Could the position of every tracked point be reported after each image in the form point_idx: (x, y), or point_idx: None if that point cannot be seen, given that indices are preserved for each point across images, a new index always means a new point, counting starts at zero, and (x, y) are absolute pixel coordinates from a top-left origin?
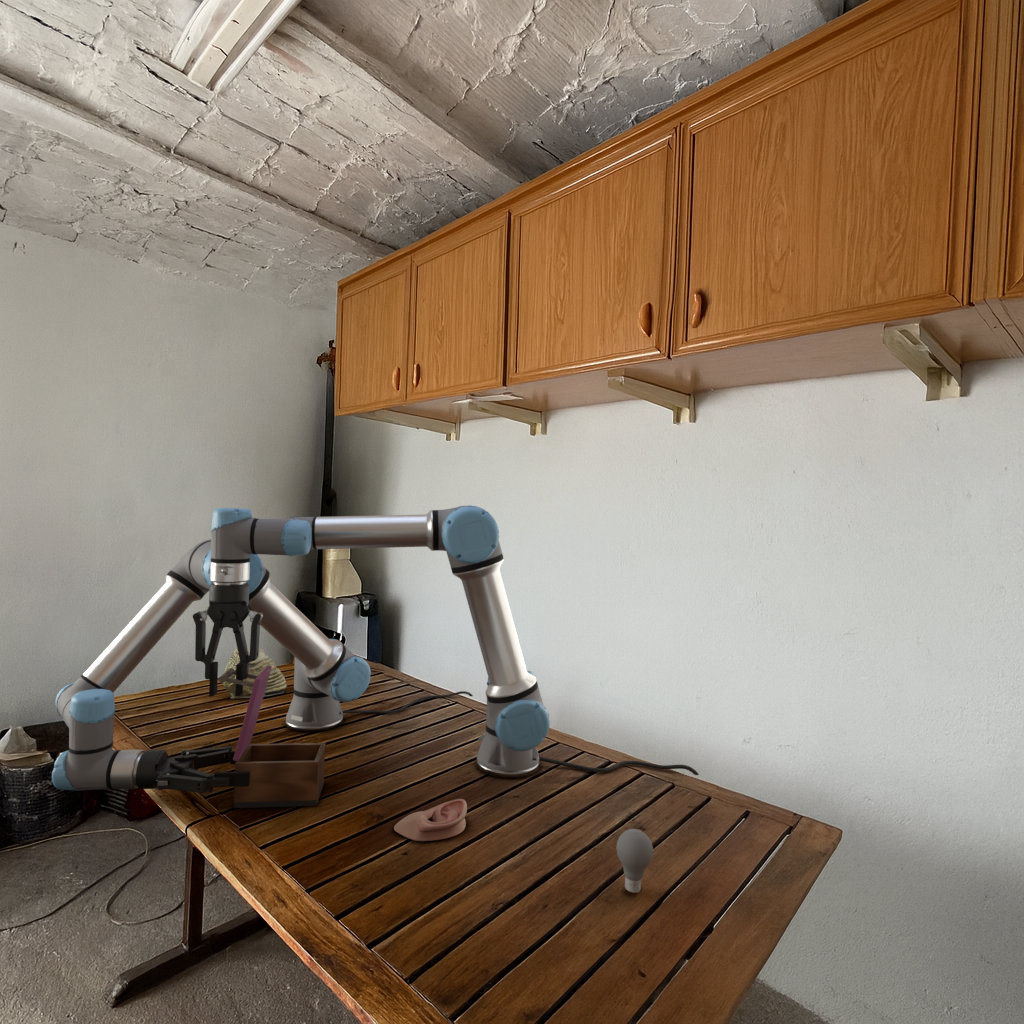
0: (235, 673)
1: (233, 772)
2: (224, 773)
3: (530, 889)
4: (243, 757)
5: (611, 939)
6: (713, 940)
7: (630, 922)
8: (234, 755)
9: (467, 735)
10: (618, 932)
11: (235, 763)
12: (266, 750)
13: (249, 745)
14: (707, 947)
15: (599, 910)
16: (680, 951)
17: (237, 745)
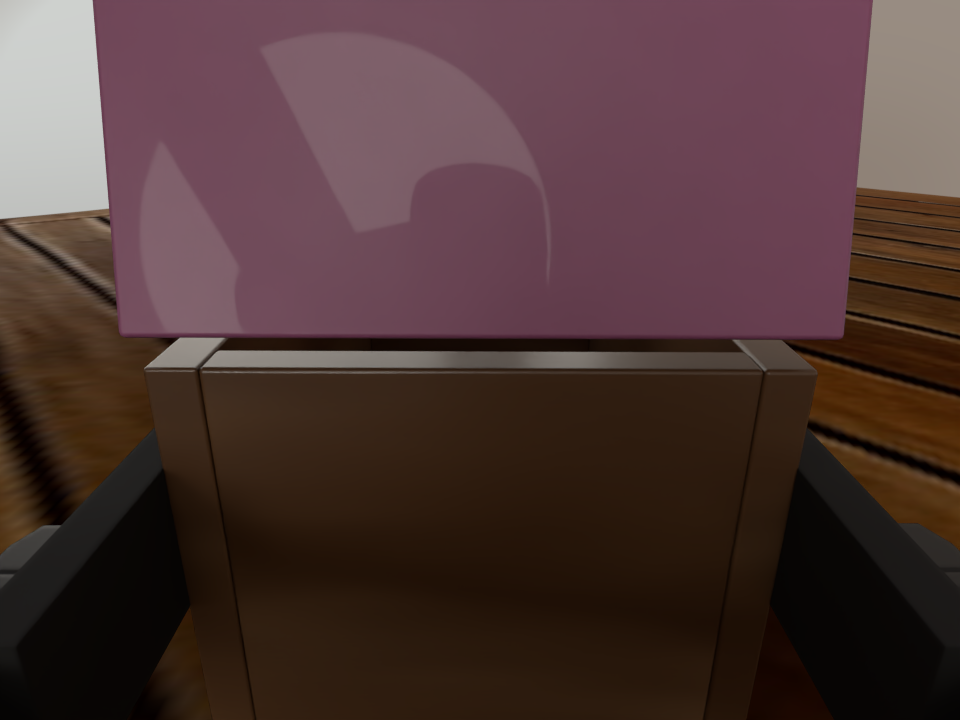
0: None
1: (826, 475)
2: (911, 539)
3: (855, 233)
4: (608, 352)
5: (926, 215)
6: (866, 194)
7: (874, 209)
8: (846, 267)
9: (103, 244)
10: (905, 213)
11: (814, 371)
12: (279, 345)
13: (206, 358)
14: (883, 196)
15: (864, 215)
16: (906, 201)
17: (861, 107)
